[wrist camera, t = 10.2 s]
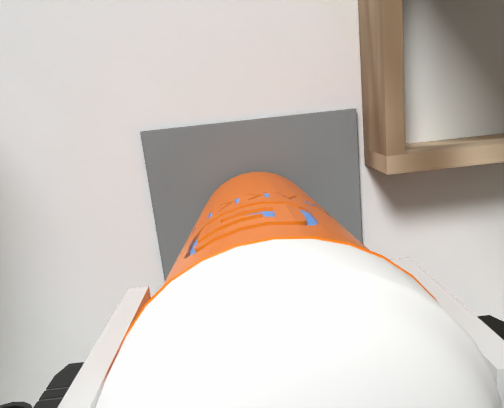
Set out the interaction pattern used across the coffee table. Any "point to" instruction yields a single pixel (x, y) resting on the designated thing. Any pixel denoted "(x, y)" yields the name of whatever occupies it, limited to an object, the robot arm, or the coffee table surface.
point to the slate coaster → (251, 167)
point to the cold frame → (402, 103)
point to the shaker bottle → (291, 319)
